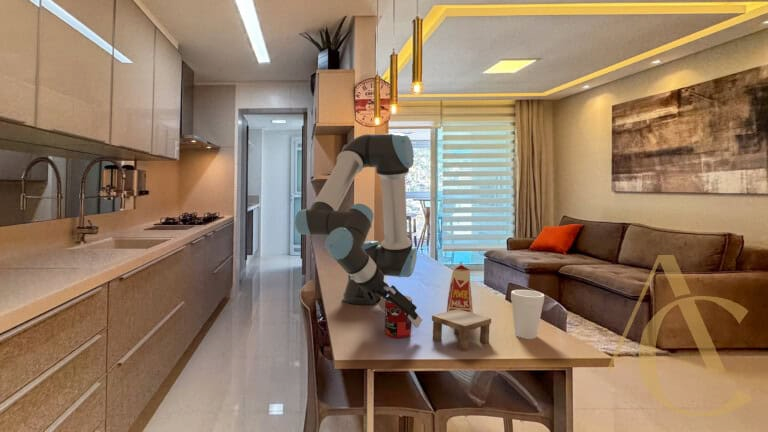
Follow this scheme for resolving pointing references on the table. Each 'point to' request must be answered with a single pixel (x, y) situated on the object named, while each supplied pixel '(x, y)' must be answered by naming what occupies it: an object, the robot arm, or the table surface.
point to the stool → (461, 325)
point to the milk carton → (460, 290)
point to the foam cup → (526, 312)
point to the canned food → (396, 321)
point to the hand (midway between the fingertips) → (404, 318)
